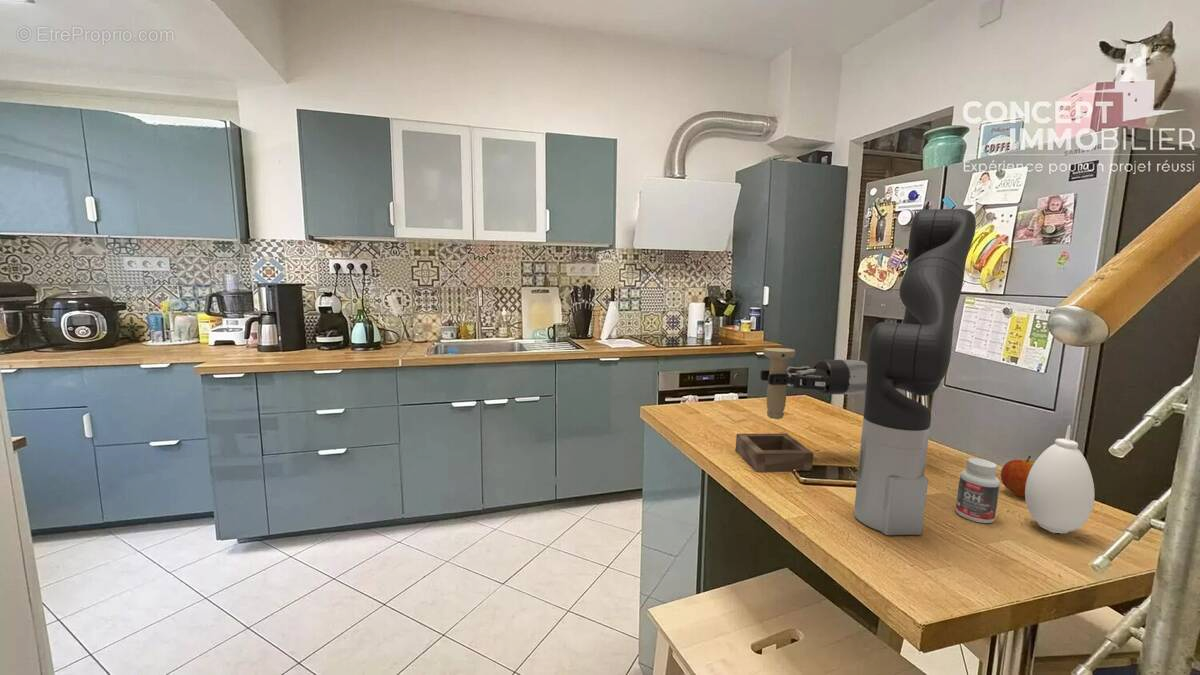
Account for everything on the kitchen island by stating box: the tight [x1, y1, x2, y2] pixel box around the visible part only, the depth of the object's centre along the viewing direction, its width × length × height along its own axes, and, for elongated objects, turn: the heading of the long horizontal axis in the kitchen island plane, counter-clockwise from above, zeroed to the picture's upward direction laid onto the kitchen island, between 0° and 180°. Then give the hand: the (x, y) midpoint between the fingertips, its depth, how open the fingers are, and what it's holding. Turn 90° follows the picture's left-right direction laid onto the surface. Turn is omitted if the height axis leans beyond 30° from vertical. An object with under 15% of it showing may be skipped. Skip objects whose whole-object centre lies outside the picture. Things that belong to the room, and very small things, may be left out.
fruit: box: [1000, 455, 1035, 499], centre depth 89 cm, size 7×7×8 cm
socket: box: [735, 432, 814, 473], centre depth 104 cm, size 12×12×4 cm
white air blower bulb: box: [1024, 424, 1095, 534], centre depth 76 cm, size 8×8×18 cm
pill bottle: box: [955, 457, 1001, 524], centre depth 81 cm, size 5×5×10 cm
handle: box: [762, 347, 796, 420], centre depth 102 cm, size 5×6×15 cm
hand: (765, 377), depth 102 cm, fingers closed on handle, 3 cm apart
